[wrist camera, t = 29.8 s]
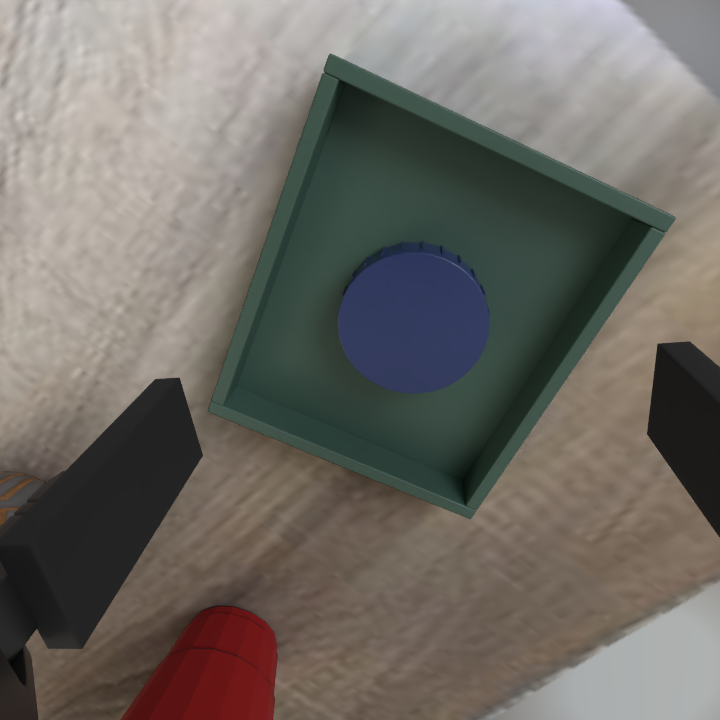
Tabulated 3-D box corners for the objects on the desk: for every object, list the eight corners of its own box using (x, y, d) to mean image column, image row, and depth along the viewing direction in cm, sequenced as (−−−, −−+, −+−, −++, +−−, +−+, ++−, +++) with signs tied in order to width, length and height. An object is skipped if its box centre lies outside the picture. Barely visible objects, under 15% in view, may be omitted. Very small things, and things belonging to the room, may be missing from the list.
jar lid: (412, 400, 25) (412, 421, 23) (313, 311, 23) (305, 327, 22) (516, 311, 23) (524, 327, 21) (413, 208, 21) (412, 215, 19)
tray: (339, 60, 20) (328, 52, 17) (649, 206, 21) (677, 217, 18) (225, 386, 26) (207, 411, 24) (466, 486, 27) (471, 520, 25)
